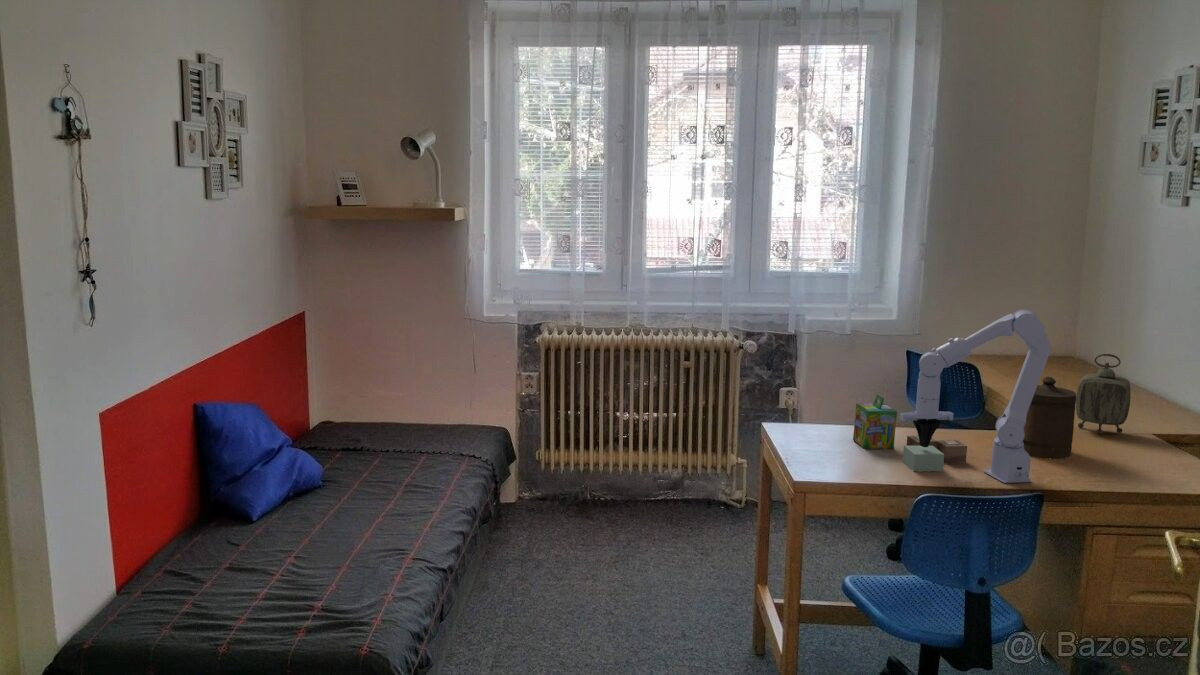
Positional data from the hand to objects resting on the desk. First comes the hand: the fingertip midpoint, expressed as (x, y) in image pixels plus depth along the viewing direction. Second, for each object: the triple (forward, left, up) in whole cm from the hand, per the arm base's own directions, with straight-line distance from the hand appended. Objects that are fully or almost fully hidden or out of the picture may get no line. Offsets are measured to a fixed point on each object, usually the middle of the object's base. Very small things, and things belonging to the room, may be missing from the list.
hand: (924, 446), depth 240 cm
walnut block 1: (+10, -5, -6) cm, 13 cm away
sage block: (0, 0, -6) cm, 6 cm away
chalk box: (+21, +4, -6) cm, 22 cm away
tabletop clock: (+25, -73, -6) cm, 77 cm away
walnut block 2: (+5, -11, -6) cm, 13 cm away
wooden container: (+9, -42, -6) cm, 43 cm away
